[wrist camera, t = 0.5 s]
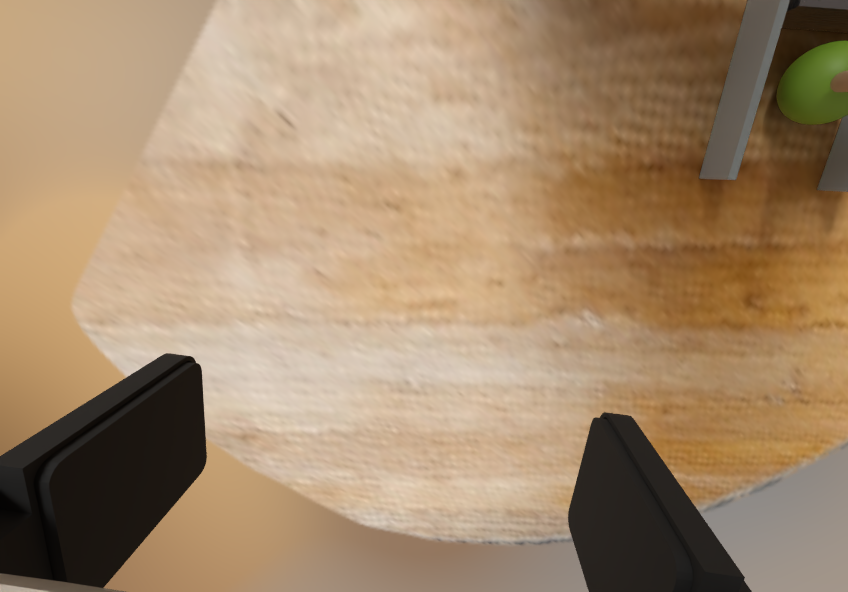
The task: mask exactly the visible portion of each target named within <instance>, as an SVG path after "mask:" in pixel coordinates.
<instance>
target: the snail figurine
mask: <svg viewBox="0 0 848 592" xmlns="http://www.w3.org/2000/svg"><path fill="white" fill-rule="evenodd" d="M777 103H778V106H779V108H780V110H781V112H782V113H783V114H784V115H785V116H786V117H787V118H789V119H790V120H792V121H794V122H797V123H801V124H807V125H818V124H825V123H829V122H833V121H835V120H838V119H841V118H843V117H845V116H847V115H848V41H835V42H830V43H826V44H823V45H820V46H818V47H815V48H813V49H811V50H809V51H808V52H806V53H804V54H803V55H802V56H800V57H799V58H798V59H796V60H795V61H794V62H793V63H792V64H791V65H790V66H789V67H788V69H787V70H786V71H785V73H784V74H783V76H782V78H781V80H780V82H779V85H778V88H777Z"/></svg>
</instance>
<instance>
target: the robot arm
mask: <svg viewBox="0 0 848 592" xmlns="http://www.w3.org/2000/svg"><path fill="white" fill-rule="evenodd" d="M206 458H207V455H206V437H205V420H204V403H203V385H202V370H201V366H200V365H199V364H198V363H196V361H195V359H194V358H193V357H191V356H184V355H176V354H168V353H166V354H164V355H162V356H160V357H159V358H157V359H156V360H154V361H152V362H151V363H149V364H148V365H146V366H144V367H143V368H141V369H140V370H138V371H136V372H135V373H133V374H131V375H130V376H128V377H127V378H125V379H123V380H122V381H120V382H119V383H117V384H115V385H114V386H112V387H111V388H109V389H107V390H106V391H104V392H103V393H101V394H99V395H98V396H96V397H95V398H93V399H92V400H90V401H88V402H87V403H85V404H84V405H82V406H80V407H78V408H77V409H75V410H74V411H72V412H70V413H69V414H67V415H66V416H64V417H62V418H61V419H59V420H58V421H56V422H54V423H53V424H51V425H50V426H48V427H46V428H45V429H43V430H42V431H40V432H38V433H37V434H35V435H33V436H32V437H30V438H29V439H27V440H25V441H24V442H22V443H21V444H19V445H17V446H16V447H14V448H13V449H11V450H9V451H8V452H6V453H5V454H3V455H1V456H0V592H124V591H118V590H112V589H105V588H103V587H104V586H105V585H106V584H107V583H108V582H109V581H110V579H111V578H112V577H113V576H114V575H115V573H116V572H117V571H118V570H119V569H120V568H121V567H122V565H123V564H124V563H125V562H126V560H127V559H128V558H129V557H130V556H131V555H132V554H133V552H134V551H135V550H136V549H137V548H138V546H139V545H140V544H141V543H142V542H143V541H144V539H145V538H146V537H147V536H148V535H149V534H150V532H151V531H152V530H153V529H154V528H155V527H156V525H157V524H158V523H159V522H160V521H161V520H162V518H163V517H164V516H165V515H166V514H167V513H168V511H169V510H170V509H171V508H172V507H173V506H174V504H175V503H176V502H177V501H178V500H179V498H180V497H181V496H182V495H183V494H184V493H185V491H186V490H187V489H188V488H189V487H190V486H191V484H192V483H193V482H194V481H195V480H196V479H197V477H198V476H199V475H200V474H201V472H202V471H203V469H204V466H205V464H206ZM568 522H569V528H570V532H571V535H572V538H573V541H574V545H575V548H576V551H577V554H578V558H579V561H580V564H581V567H582V571H583V574H584V577H585V580H586V584H587V587H588V590H589V592H751V590H750V589H749V587H748V586H747V585H746V583H745V581H744V578H745V577H744V576H743V575H742V573H741V572H740V570H739V569H738V567H737V566H736V564H735V563H734V562H733V560H732V559H731V557H730V556H729V555H728V553H727V552H726V550H725V549H724V547H723V546H722V544H721V543H720V542H719V540H718V539H717V538H716V536H715V535H714V533H713V532H712V530H711V529H710V527H709V526H708V524H707V523H706V522H705V520H704V519H703V517H702V516H701V515H700V513H699V512H698V510H697V509H696V507H695V506H694V505H693V503H692V502H691V500H690V499H689V497H688V496H687V495H686V493H685V492H684V490H683V489H682V487H681V486H680V485H679V483H678V482H677V480H676V479H675V477H674V476H673V475H672V473H671V472H670V470H669V469H668V467H667V466H666V465H665V463H664V462H663V460H662V459H661V457H660V456H659V455H658V453H657V452H656V450H655V449H654V447H653V446H652V445H651V443H650V442H649V440H648V439H647V437H646V436H645V435H644V433H643V432H642V430H641V429H640V427H639V426H638V425H637V423H636V422H635V420H634V419H633V418H632V417H631V416H628V415H620V414H613V413H606V412H605V413H603V414H602V415H601V417H600V418H594V419H593V421H592V423H591V427H590V431H589V435H588V439H587V442H586V446H585V450H584V454H583V458H582V462H581V466H580V469H579V473H578V477H577V481H576V485H575V489H574V493H573V497H572V500H571V504H570V508H569V514H568Z"/></svg>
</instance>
